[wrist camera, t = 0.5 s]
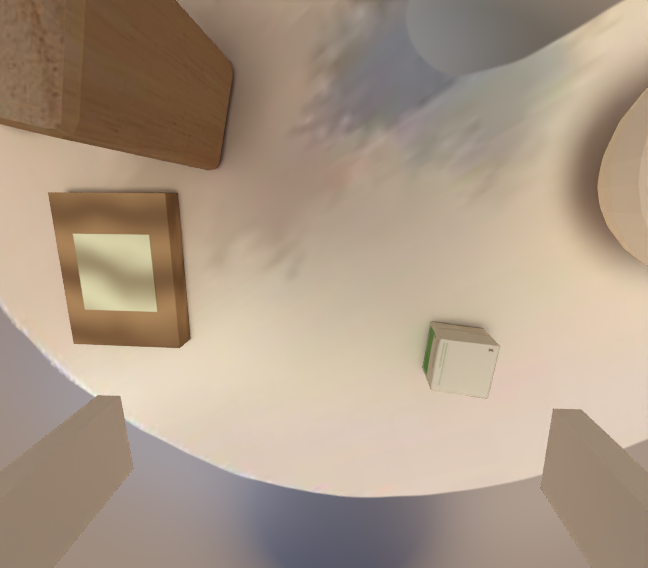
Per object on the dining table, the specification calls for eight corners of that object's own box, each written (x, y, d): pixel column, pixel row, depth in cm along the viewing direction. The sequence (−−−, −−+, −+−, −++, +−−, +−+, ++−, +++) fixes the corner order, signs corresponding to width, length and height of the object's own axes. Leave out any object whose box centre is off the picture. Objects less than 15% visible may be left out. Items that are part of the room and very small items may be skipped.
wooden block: (126, 150, 36) (-146, 89, 16) (136, 40, 33) (-171, -187, 14) (221, 173, 35) (61, 139, 16) (238, 64, 33) (73, -133, 13)
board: (68, 193, 37) (47, 192, 34) (177, 193, 36) (164, 193, 34) (90, 335, 41) (73, 344, 38) (190, 339, 40) (179, 348, 37)
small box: (429, 320, 37) (440, 337, 32) (484, 327, 37) (503, 345, 32) (420, 368, 39) (429, 392, 34) (472, 376, 38) (490, 400, 33)
